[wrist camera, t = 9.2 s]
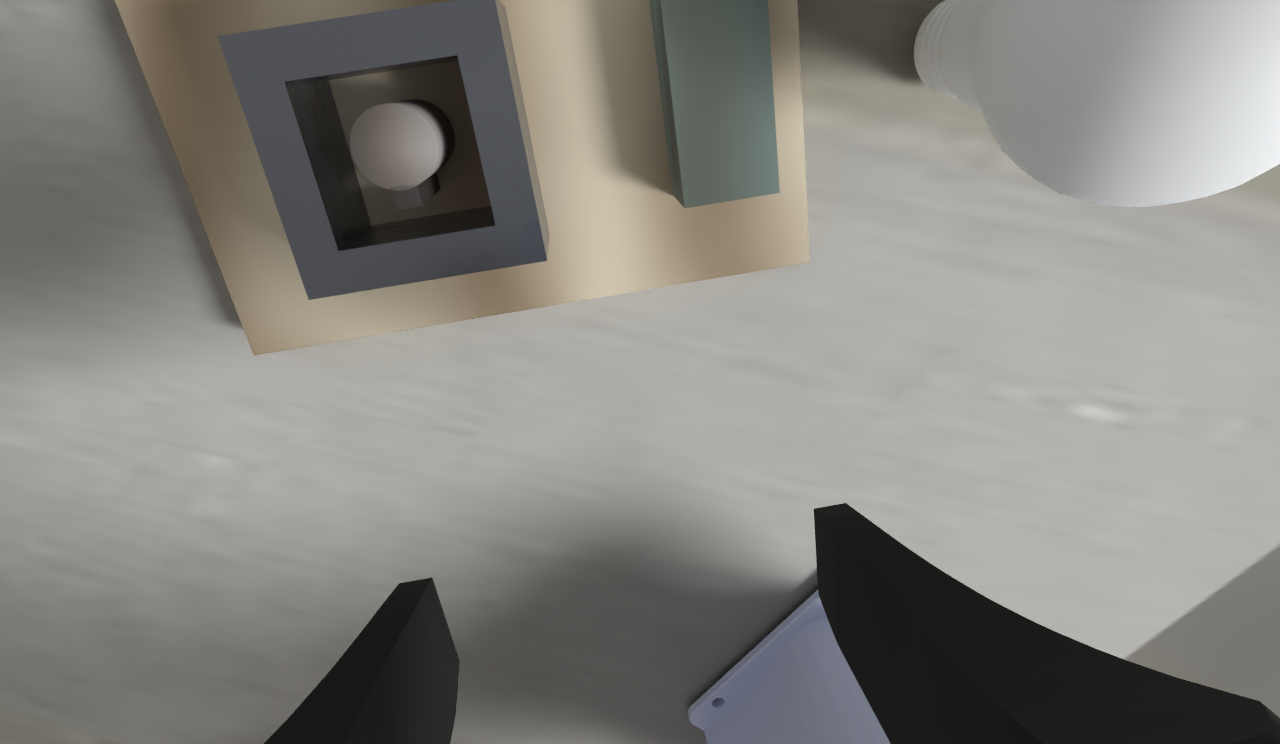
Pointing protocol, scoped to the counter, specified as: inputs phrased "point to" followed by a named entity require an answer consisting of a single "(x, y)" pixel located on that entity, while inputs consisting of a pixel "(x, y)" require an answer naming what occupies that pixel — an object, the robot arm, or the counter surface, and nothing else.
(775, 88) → the stand
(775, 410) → the counter surface
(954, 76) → the lightbulb
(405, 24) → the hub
